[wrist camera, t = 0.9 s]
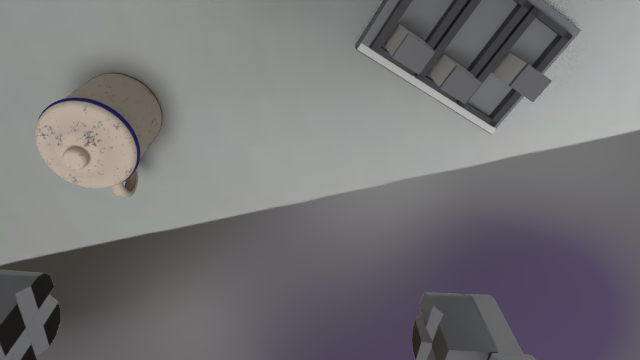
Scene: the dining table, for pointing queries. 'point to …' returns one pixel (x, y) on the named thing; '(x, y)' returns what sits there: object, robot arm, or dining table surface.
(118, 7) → the dining table surface
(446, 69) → the block
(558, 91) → the dining table surface
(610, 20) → the dining table surface
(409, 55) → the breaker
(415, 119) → the dining table surface
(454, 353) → the robot arm
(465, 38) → the panel
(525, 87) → the block
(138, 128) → the teacup with lid
